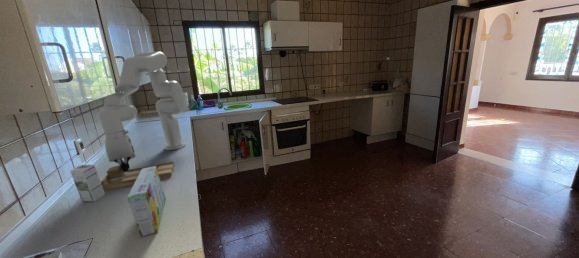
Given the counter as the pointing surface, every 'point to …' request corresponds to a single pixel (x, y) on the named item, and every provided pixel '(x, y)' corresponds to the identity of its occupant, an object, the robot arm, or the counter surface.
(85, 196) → the syrup box
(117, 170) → the block
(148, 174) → the snack box
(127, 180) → the tray
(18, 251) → the counter surface
